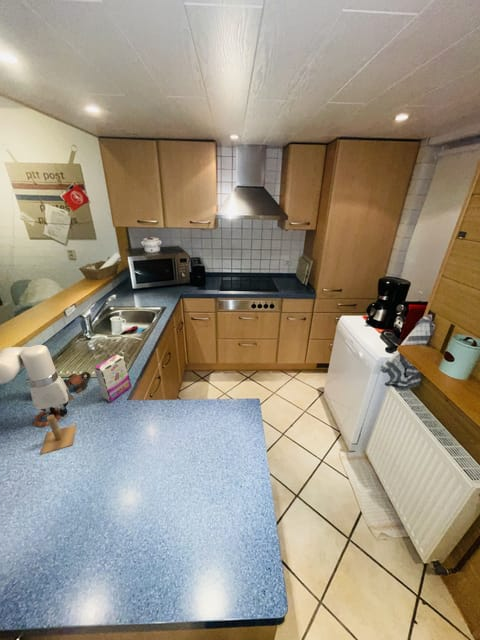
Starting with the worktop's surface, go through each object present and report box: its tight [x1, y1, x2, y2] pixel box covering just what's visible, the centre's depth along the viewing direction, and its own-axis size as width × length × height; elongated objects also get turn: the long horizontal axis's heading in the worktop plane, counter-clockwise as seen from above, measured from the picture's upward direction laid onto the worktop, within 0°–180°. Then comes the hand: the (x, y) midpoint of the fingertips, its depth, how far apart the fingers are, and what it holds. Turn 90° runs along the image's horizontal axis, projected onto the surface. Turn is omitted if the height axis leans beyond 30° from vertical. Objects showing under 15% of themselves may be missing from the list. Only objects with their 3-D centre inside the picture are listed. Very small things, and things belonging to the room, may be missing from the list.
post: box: [39, 414, 77, 456], centre depth 84 cm, size 9×9×12 cm
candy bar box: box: [93, 354, 132, 403], centre depth 106 cm, size 11×5×16 cm, turn 154°
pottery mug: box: [63, 371, 92, 394], centre depth 111 cm, size 12×9×8 cm
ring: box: [32, 406, 63, 428], centre depth 95 cm, size 9×9×2 cm
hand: (59, 416), depth 97 cm, fingers closed on ring, 2 cm apart
